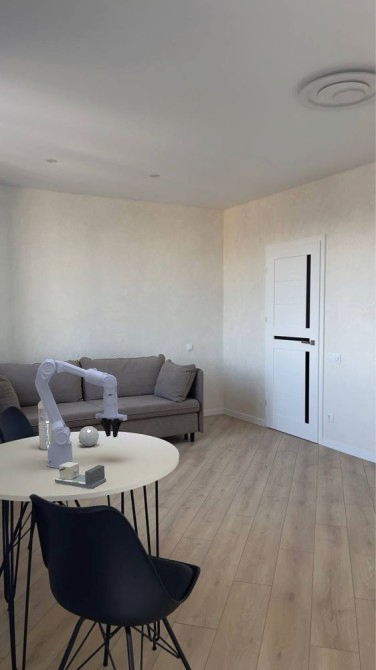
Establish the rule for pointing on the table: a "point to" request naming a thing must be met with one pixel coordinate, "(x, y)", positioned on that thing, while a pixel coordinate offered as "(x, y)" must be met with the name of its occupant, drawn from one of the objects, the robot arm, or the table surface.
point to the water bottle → (44, 428)
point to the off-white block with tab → (69, 470)
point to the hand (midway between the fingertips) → (111, 436)
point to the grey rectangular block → (94, 475)
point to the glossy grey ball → (88, 436)
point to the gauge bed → (79, 482)
